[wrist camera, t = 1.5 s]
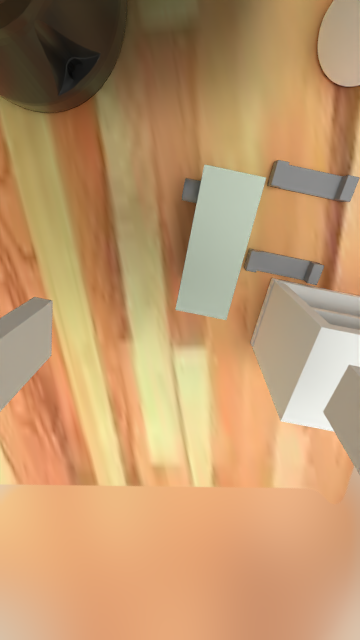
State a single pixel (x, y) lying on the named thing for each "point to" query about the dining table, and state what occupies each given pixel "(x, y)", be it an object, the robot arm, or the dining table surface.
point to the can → (341, 43)
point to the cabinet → (304, 316)
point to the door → (217, 238)
